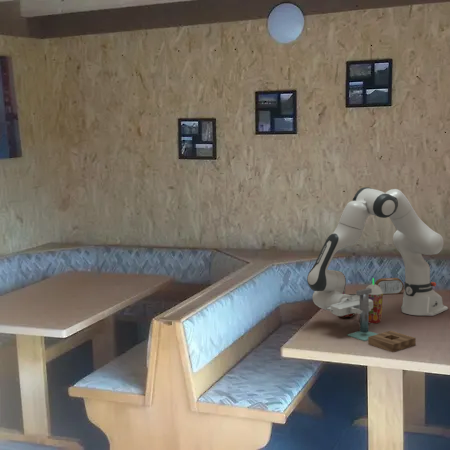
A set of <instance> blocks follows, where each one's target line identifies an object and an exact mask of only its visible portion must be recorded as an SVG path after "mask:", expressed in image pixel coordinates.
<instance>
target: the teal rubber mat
mask: <svg viewBox="0 0 450 450" xmlns="http://www.w3.org/2000/svg"><path fill="white" fill-rule="evenodd" d="M377 334H378V333H376V332H372V331H371V330H370V331H369V332H366V333H364V332H360V330H359V331H355V332H351V333H348V334H346V335H347V336H348V337H350V338H354V339H355V340H356V339H357V340H360V341H362V342H367V341H368V337H370V336H373V335H377Z"/></svg>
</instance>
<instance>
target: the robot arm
mask: <svg viewBox="0 0 450 450" xmlns="http://www.w3.org/2000/svg"><path fill="white" fill-rule="evenodd" d="M371 215H372V216H375V217H376V216H377V218H382V219H387V218H389V219H390V221H391V223H392V225H393V226H394V227H395V229H396V231H395V232H394V233H393V236H392V244H393V245H394V247H395V249H397V251H398V252H399V253H400V255H401V258H402V261H403V264H404V271H405V272H404V275H405V276H404V277H405V280H404V282H403V284H404V288H403V290H404V292H403V296H402V297H403V298H402V305H401V306H400V307H401V308H400V309H401V313H404V314H406V315H409V316H430V317H431V316H432V317H434V316H437V315H438V314H441V313H442V312H445V311H447V310H448V309H449V307H448V306H447V305H444V304H443V297H442V295H440V294H439V293H438V292H436V291H435V290H434V289H433V287H436V286H437V283H436V282H435V281H431V267H430V264H429V263H428V262H427V261H426V260H425V258H424V257H423V255H426V256H431V255H438V254H439V253H440V252H441V251H442V250H443V249H444V238H443V236H442V235H441V233H438V232H436V231H434V230H433V229H432V228H431V227H429V225H427V224H426V223H425V222H424V221H423V220H422V219H421V218H420V217H419V215H418V214H417V212H416V211H415V209H414V208H413V206H412V204H411V202H410V201H409V199H408V197H407V196H406V194H404V193H403V192H402V191H401V189H398V188H391V189H389V190H387V191H385V192H384V191H382V190H379V189H375V188H372V187H361V188H360V189H358V190H357V191H356V192H355V194H354V196H353V198H352V200H350V201H349V202H347V203H346V205H345V207H344V209H343V211H342V213H341V216H340V217H339V221H338V223H337V225H336V227H335V229H334V231H333V232H332V233H331V234H330V235H329V236H328V237H327V238H326V240H325V241H324V244H323V246H322V247H321V250H320V252H319V255H318V257H317V258H316V260H315V262H314V264H313V266H312V267H311V269H310V270H309V272H308V273H307V277H306V282H307V285H308V287H309V288H310V290H312V291H313V293H312V301H313V303H314V305H316V307H318V308H320V309H322V310H325V311H329V312H330V313H331V314H332V315H335V316H337V317H342V316H344V315H348V314H352V313H355V314H358V315H360V314H361V313H363V312H362V311H363V310H362V309H360V296H359V295H356V293H353V294H352V293H350V294H347V293H345V294H343V292H344V289H345V290H346V285H347V280H346V275H345V274H344V273H343V272H342V271H341V270H334V269H328V268H329V266H330V265H331V262H332V261H333V258H334V256H335V254H336V253H337V252H338V251H340V250H342V249H344V248H347V247H352V246H354V245H355V244H357V243H359V241H360V239H361V237H362V235H363V231H364V229H365V225H366V222H367V219H368V218H369V217H370V216H371ZM372 308H373V300H371V299H369V311H371V309H372Z"/></svg>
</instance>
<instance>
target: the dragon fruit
mask: <svg viewBox="0 0 450 450" xmlns="http://www.w3.org/2000/svg"><path fill="white" fill-rule="evenodd" d="M355 314H356V313H352V314H348V315H344V316H341V318H342V319H345V318H349V317H350V318H351V317H353V316H354V315H355Z"/></svg>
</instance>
